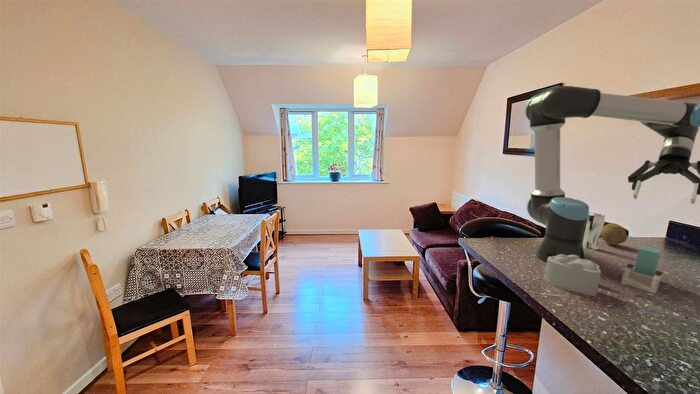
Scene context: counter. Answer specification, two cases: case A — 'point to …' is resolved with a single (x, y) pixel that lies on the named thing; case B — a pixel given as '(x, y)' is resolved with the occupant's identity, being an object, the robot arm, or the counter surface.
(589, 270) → the lumpy-topped squat cylinder
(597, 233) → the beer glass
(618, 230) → the natural sponge
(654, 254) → the teal block
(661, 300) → the counter surface
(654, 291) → the guide channel
